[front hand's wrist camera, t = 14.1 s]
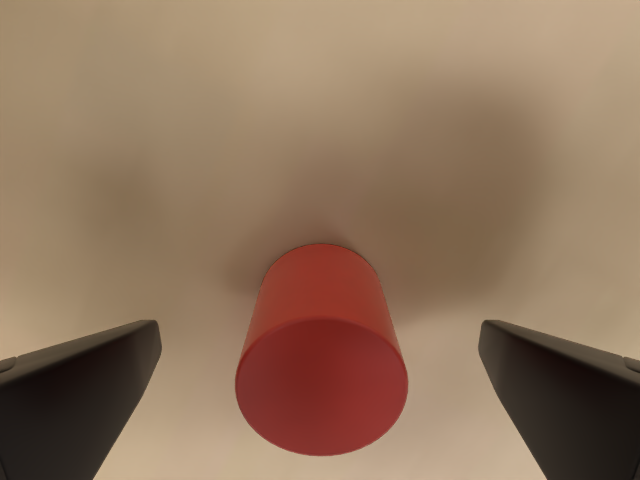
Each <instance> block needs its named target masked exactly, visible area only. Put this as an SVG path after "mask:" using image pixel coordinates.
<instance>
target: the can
mask: <svg viewBox="0 0 640 480" xmlns="http://www.w3.org/2000/svg"><path fill="white" fill-rule="evenodd" d="M235 393H236V398H237V402H238V405H239V408H240V410H241V412H242V414H243V416H244V418H245V419H246V421H247V422H248V424H249V425H250V426H251V427H252V428H253V429H254V430H255V431H256V432H257V433H258V434H259V435H260V436H261V437H263V438H264V439H266V440H267V441H269V442H270V443H272V444H274V445H276V446H278V447H280V448H282V449H285V450H287V451H290V452H294V453H298V454H303V455H309V456H333V455H340V454H345V453H349V452H352V451H355V450H358V449H361V448H363V447H365V446H367V445H369V444H371V443H373V442H374V441H376V440H377V439H379V438H380V437H381V436H383V435H384V434H385V433H386V432H387V431H388V430H389V429H390V428H391V427H392V426H393V425H394V423H395V422H396V421H397V419H398V418H399V416H400V414H401V412H402V410H403V408H404V405H405V402H406V399H407V393H408V376H407V370H406V367H405V364H404V360H403V357H402V354H401V351H400V347H399V344H398V341H397V337H396V334H395V331H394V327H393V324H392V321H391V317H390V314H389V311H388V307H387V304H386V301H385V297H384V294H383V291H382V287H381V284H380V281H379V279H378V277H377V274H376V273H375V271H374V270H373V268H372V267H371V266H370V265H369V264H368V262H366V261H365V260H364V259H363V258H362V257H361V256H359V255H358V254H356V253H354V252H352V251H350V250H348V249H346V248H343V247H340V246H336V245H331V244H312V245H306V246H303V247H299V248H296V249H294V250H292V251H290V252H288V253H286V254H285V255H283V256H282V257H280V258H279V259H278V260H277V261H276V262H275V263H274V264H273V265H272V266H271V267H270V269H269V270H268V272H267V273H266V275H265V277H264V279H263V282H262V285H261V288H260V291H259V295H258V298H257V302H256V305H255V308H254V312H253V315H252V319H251V322H250V326H249V329H248V333H247V336H246V340H245V343H244V346H243V350H242V353H241V357H240V360H239V364H238V367H237V371H236V377H235Z"/></svg>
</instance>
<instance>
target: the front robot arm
mask: <svg viewBox="0 0 640 480" xmlns="http://www.w3.org/2000/svg"><path fill="white" fill-rule="evenodd" d="M161 350H162V345H161V338H160V332H159V326H158V323H157V321H155V320H140V321H136V322H133V323H130V324H126V325H123V326H119V327H116V328H113V329H109V330H106V331H102V332H99V333H96V334H92V335H89V336H85V337H82V338H78V339H75V340H72V341H68V342H65V343H61V344H58V345H55V346H51V347H48V348H44V349H41V350H38V351H34V352H31V353H27V354H24V355H20V356H18V357H17V358H16V357H12V358H8V359H5V360H1V361H0V480H93V478H94V477H95V475H96V473H97V472H98V470H99V468H100V467H101V465H102V463H103V462H104V460H105V458H106V457H107V455H108V453H109V452H110V450H111V448H112V446H113V445H114V443H115V441H116V440H117V438H118V436H119V435H120V433H121V431H122V430H123V428H124V426H125V425H126V423H127V421H128V420H129V418H130V416H131V415H132V413H133V411H134V410H135V408H136V406H137V405H138V403H139V401H140V399H141V398H142V396H143V394H144V392H145V390H146V387H147V385H148V383H149V381H150V378H151V376H152V374H153V371H154V369H155V367H156V364H157V362H158V360H159V358H160V355H161ZM478 350H479V355H480V358H481V360H482V362H483V365H484V367H485V369H486V371H487V374H488V376H489V378H490V381H491V383H492V385H493V387H494V390H495V392H496V394H497V396H498V398H499V399H500V401H501V403H502V405H503V406H504V408H505V410H506V411H507V413H508V415H509V416H510V418H511V420H512V421H513V423H514V425H515V426H516V428H517V430H518V431H519V433H520V435H521V436H522V438H523V440H524V441H525V443H526V445H527V447H528V448H529V450H530V452H531V453H532V455H533V457H534V458H535V460H536V462H537V463H538V465H539V467H540V468H541V470H542V472H543V473H544V475H545V477H546V478H547V480H640V361H639V360H635V359H632V358H628V357H624V358H623V357H622V356H620V355H616V354H613V353H609V352H606V351H602V350H599V349H596V348H592V347H589V346H585V345H582V344H579V343H575V342H572V341H568V340H565V339H562V338H558V337H555V336H551V335H548V334H544V333H541V332H538V331H534V330H531V329H527V328H524V327H521V326H517V325H514V324H510V323H507V322H504V321H500V320H485V321H483V323H482V326H481V332H480V338H479V345H478Z"/></svg>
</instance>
